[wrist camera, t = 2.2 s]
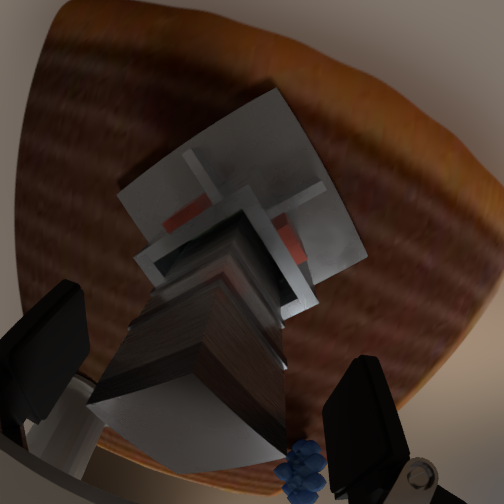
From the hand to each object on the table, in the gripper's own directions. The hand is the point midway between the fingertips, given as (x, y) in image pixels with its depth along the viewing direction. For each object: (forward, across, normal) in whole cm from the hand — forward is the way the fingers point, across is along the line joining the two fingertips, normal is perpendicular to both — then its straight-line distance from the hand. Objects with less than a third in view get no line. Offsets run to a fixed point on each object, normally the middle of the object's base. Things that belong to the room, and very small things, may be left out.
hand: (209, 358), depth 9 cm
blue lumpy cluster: (+17, -15, +31) cm, 38 cm away
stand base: (+17, 0, +1) cm, 17 cm away
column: (+16, 0, +1) cm, 16 cm away
